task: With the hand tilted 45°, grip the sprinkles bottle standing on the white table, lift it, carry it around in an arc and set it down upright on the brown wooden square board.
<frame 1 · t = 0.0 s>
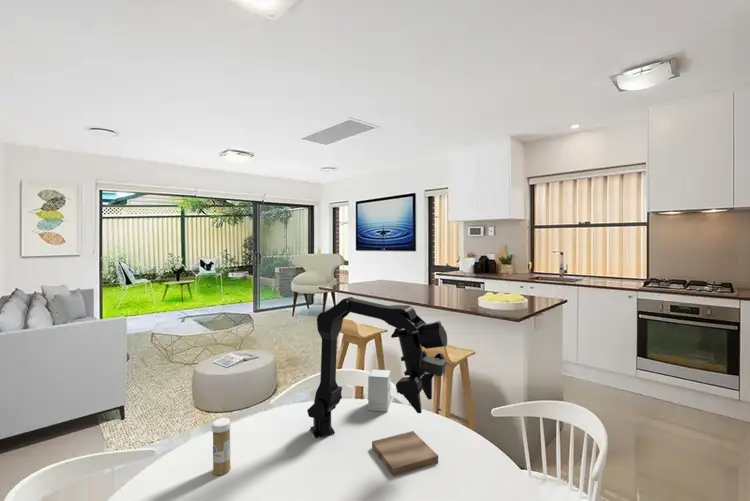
hand: (425, 405, 100), 15 cm above the table, tool pointing down, fingers open, 9 cm apart
brown wooden square board: (404, 455, 103), on the table
sprinkles bottle: (222, 471, 97), on the table
supplement box: (379, 407, 133), on the table
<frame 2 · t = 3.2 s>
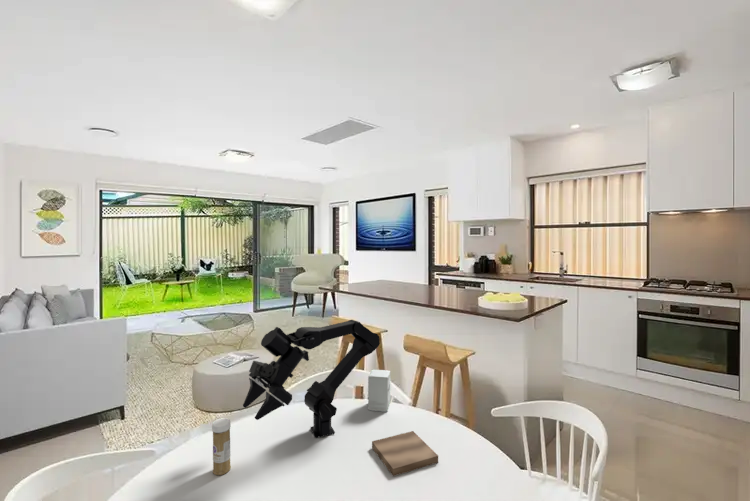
hand: (249, 412, 101), 14 cm above the table, tool tilted 45°, fingers open, 9 cm apart
nothing on the table moved.
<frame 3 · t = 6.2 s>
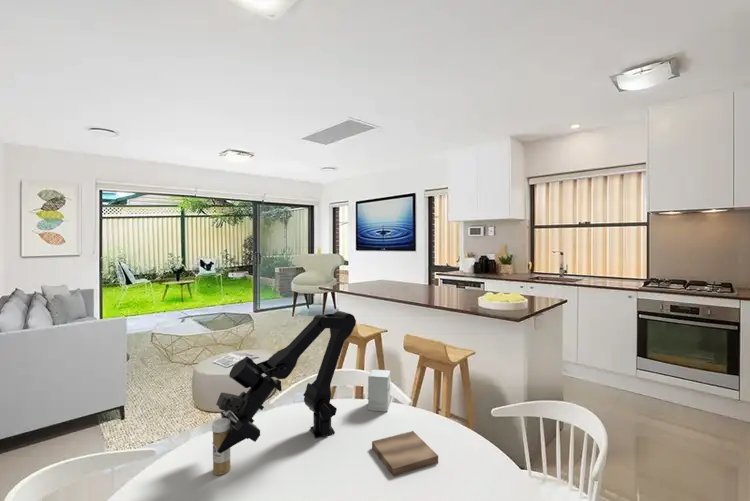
hand: (216, 448, 96), 7 cm above the table, tool tilted 45°, fingers closed on sprinkles bottle, 4 cm apart
sprinkles bottle: (222, 471, 97), on the table, touching gripper
everything else where it was.
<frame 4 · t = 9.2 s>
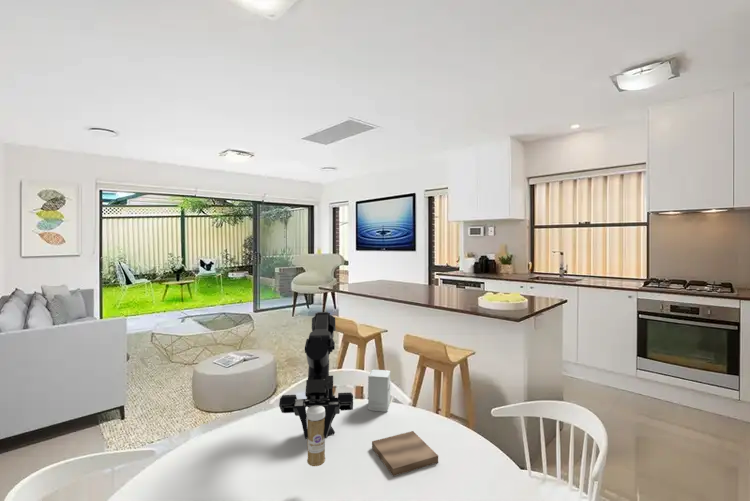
hand: (315, 438, 88), 13 cm above the table, tool tilted 45°, fingers closed on sprinkles bottle, 4 cm apart
sprinkles bottle: (316, 462, 90), point 6 cm above the table, touching gripper
everything else where it was.
when the fingers open (10 cm above the table, at t = 12.2 s): sprinkles bottle stays where it is, resting on brown wooden square board.
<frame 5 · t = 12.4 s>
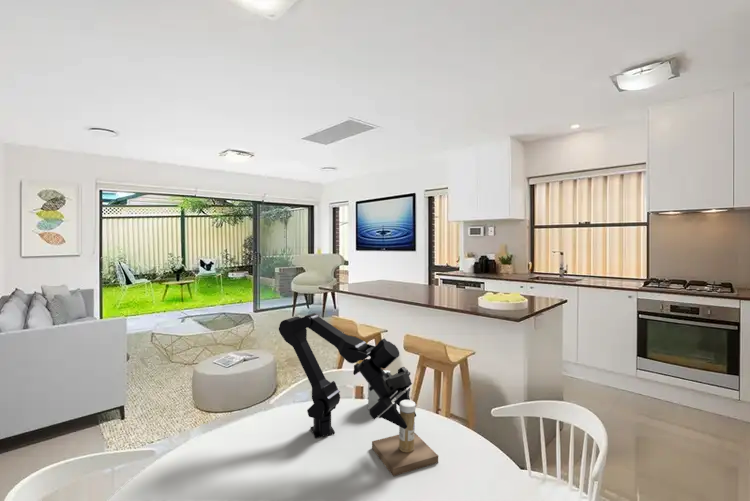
hand: (410, 422, 102), 10 cm above the table, tool tilted 45°, fingers open, 7 cm apart
sprinkles bottle: (406, 449, 103), point 2 cm above the table, touching brown wooden square board
everything else where it was.
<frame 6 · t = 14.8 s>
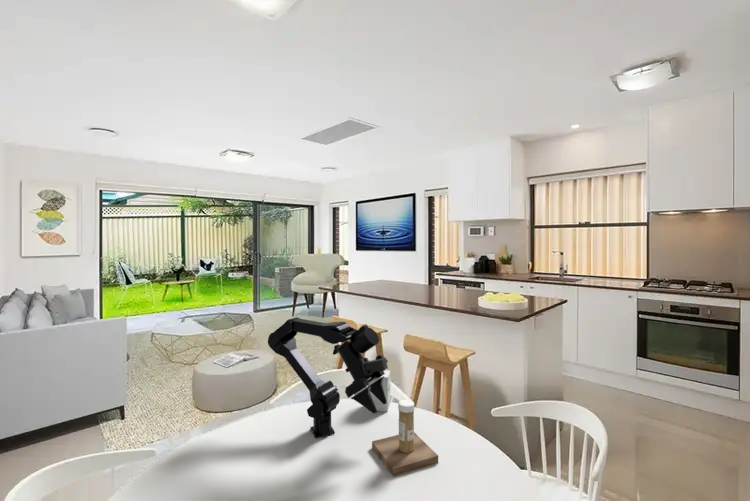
hand: (380, 408, 105), 13 cm above the table, tool tilted 35°, fingers open, 9 cm apart
nothing on the table moved.
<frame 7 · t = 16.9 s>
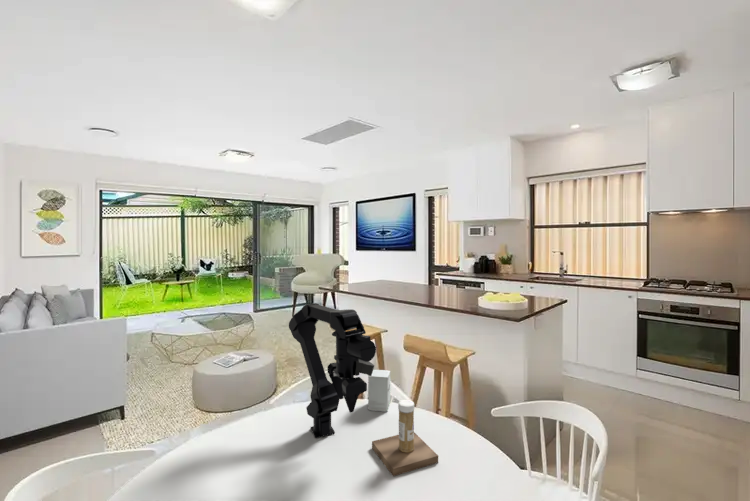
hand: (346, 405, 106), 13 cm above the table, tool pointing down, fingers open, 9 cm apart
nothing on the table moved.
at the end: sprinkles bottle inside the target area on the brown wooden square board (0.7 cm from its centre), point 1.8 cm above the brown wooden square board's base; sprinkles bottle tilted 0°; the gripper is holding nothing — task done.
